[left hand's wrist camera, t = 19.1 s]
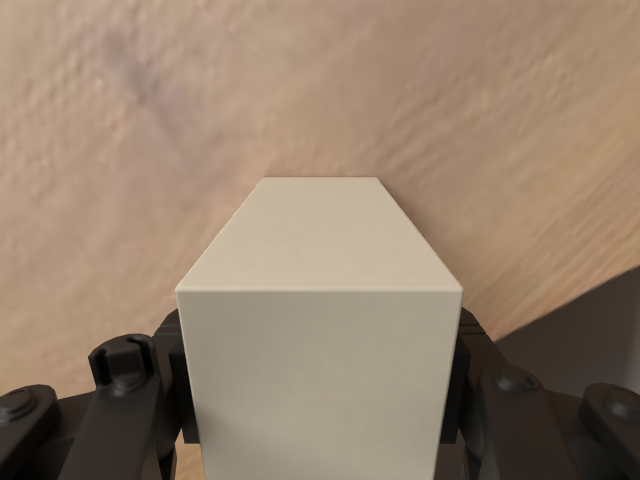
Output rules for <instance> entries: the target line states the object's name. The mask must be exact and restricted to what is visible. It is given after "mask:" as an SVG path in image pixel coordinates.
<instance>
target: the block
mask: <svg viewBox="0 0 640 480" xmlns="http://www.w3.org/2000/svg"><path fill="white" fill-rule="evenodd" d="M175 293H176V299H177V305H178V312H179V318H180V324H181V330H182V336H183V342H184V348H185V354H186V361H187V367H188V373H189V379H190V385H191V391H192V397H193V403H194V410H195V416H196V422H197V428H198V434H199V440H200V446H201V452H202V459H203V465H204V471H205V477H206V480H433V479H434V473H435V467H436V461H437V455H438V449H439V443H440V436H441V430H442V424H443V418H444V412H445V406H446V400H447V393H448V387H449V381H450V375H451V369H452V363H453V356H454V350H455V344H456V338H457V332H458V326H459V320H460V313H461V307H462V301H463V295H464V289H463V287H462V285H461V284H460V283H459V281H458V280H457V279H456V278H455V276H454V275H453V274H452V273H451V271H450V270H449V269H448V267H447V266H446V265H445V264H444V262H443V261H442V260H441V259H440V257H439V256H438V255H437V253H436V252H435V251H434V250H433V248H432V247H431V246H430V245H429V243H428V242H427V241H426V239H425V238H424V237H423V236H422V234H421V233H420V232H419V231H418V229H417V228H416V227H415V225H414V224H413V223H412V222H411V220H410V219H409V218H408V217H407V215H406V214H405V213H404V212H403V210H402V209H401V208H400V206H399V205H398V204H397V203H396V201H395V200H394V199H393V198H392V196H391V195H390V194H389V192H388V191H387V190H386V189H385V187H384V186H383V185H382V184H381V182H380V181H379V180H378V178H376V177H264V178H262V180H261V181H260V182H259V183H258V185H257V186H256V187H255V188H254V190H253V191H252V192H251V194H250V195H249V196H248V197H247V199H246V200H245V201H244V202H243V204H242V205H241V206H240V207H239V209H238V210H237V211H236V212H235V214H234V215H233V216H232V217H231V219H230V220H229V221H228V223H227V224H226V225H225V226H224V228H223V229H222V230H221V231H220V233H219V234H218V235H217V236H216V238H215V239H214V240H213V241H212V243H211V244H210V245H209V246H208V248H207V249H206V250H205V251H204V253H203V254H202V255H201V257H200V258H199V259H198V260H197V262H196V263H195V264H194V265H193V267H192V268H191V269H190V270H189V272H188V273H187V274H186V275H185V277H184V278H183V279H182V280H181V282H180V283H179V284H178V286H177V287H176V289H175Z"/></svg>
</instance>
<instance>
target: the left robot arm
mask: <svg viewBox="0 0 640 480" xmlns="http://www.w3.org/2000/svg"><path fill="white" fill-rule="evenodd" d="M88 359H89V363H90V366H91V370H92V373H93V377H94V381H95V384H96V390H95V391H92V392H89V393H85V394H81V395H76V396H72V397H67V398H63V399H57V396H56V393H55V390H54V389H52V388H51V387H50V386H48V385H41V384H38V385H31V386H25V387H22V388H19V389H16V390H13V391H11V392H9V393H7V394H5V395H3V396H1V397H0V480H175V472H176V463H177V455H176V448H175V441H176V439H177V437H178V435H179V432H180V430H181V428H182V432H183V438H184V443H185V444H200V440H199V434H198V428H197V422H196V416H195V410H194V403H193V397H192V391H191V385H190V379H189V373H188V367H187V361H186V354H185V348H184V342H183V336H182V330H181V324H180V318H179V312H178V308H177V309H176V310H174V311H173V312H171V313H170V314H168V315H167V317H166V318H165V320H164V321H163V322H162V324H161V325H160V327H159V328H158V329H157V331H156V332H155V333H154V336H152V337H150V336H148V335H144V334H127V335H123V336H119V337H115V338H113V339H111V340H108V341H106V342H104V343H103V344H101V345H100V346H98V347H97V348H95V349H94V350H93V351H92V353H91V354H90V355H89V356H88ZM458 426H459V429H460V431H461V433H462V435H463V438H464V440H465V442H466V443H465V448H464V454H463V459H462V464H461V469H460V474H459V480H464V477H465V480H640V395H639V394H637V393H635V392H633V391H631V390H629V389H626V388H624V387H620V386H617V385H614V384H606V383H596V384H591V385H589V386H588V387H587V388H586V389H585V392H584V395H583V398H579V397H575V396H571V395H566V394H562V393H557V392H553V391H550V390H546V389H544V387H543V386H542V384H541V383H540V381H539V380H538V379H537V378H536V377H535V376H534V375H532V374H531V373H530V372H529V371H527V370H525V369H523V368H521V367H519V366H516V365H513V364H509V363H508V362H507V361H506V359H505V358H504V357H503V355H502V354H501V353H500V351H499V350H498V348H497V347H496V346H495V344H494V343H493V342H492V340H491V339H490V338H489V336H488V335H486V332H485V331H484V329H483V328H482V327H481V326H480V324H479V322H478V321H477V320H476V318H475V317H474V316H473V314H472V313H470V312H469V311H467V310H466V309H464V308H463V307H461V313H460V320H459V326H458V332H457V338H456V344H455V350H454V356H453V363H452V369H451V375H450V381H449V387H448V393H447V400H446V406H445V412H444V418H443V424H442V430H441V436H440V443H444V444H446V443H447V444H448V443H449V444H454V443H455V442H456V437H457V431H458ZM440 443H439V444H440Z"/></svg>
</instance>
